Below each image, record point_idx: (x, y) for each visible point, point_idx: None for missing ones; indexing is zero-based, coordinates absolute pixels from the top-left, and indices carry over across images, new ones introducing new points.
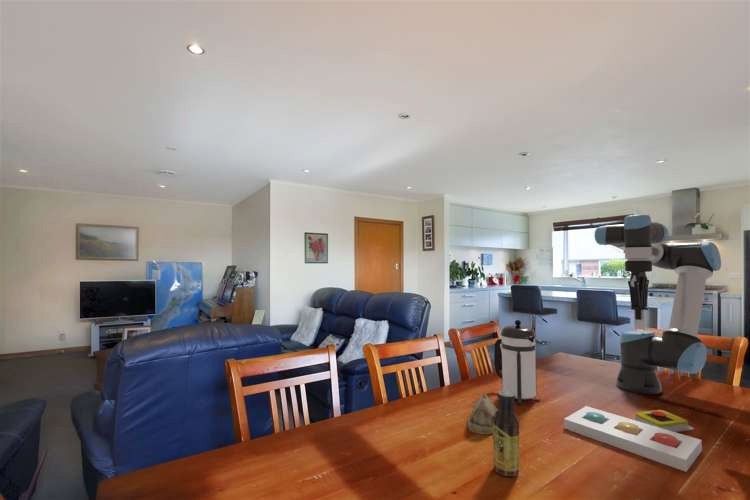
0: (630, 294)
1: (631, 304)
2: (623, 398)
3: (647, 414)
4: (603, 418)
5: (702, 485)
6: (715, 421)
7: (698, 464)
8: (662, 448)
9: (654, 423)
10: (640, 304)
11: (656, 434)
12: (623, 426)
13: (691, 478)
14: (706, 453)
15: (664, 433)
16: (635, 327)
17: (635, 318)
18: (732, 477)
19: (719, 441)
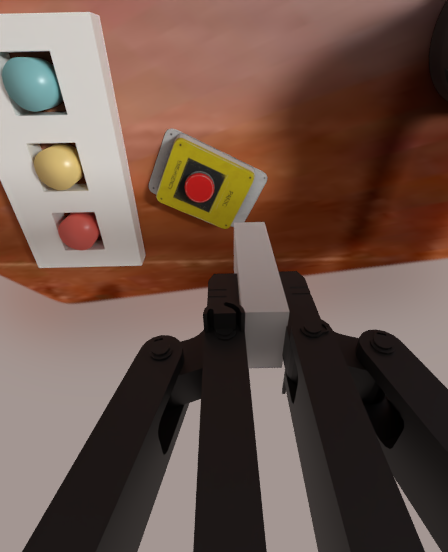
0: (26, 548)
1: (126, 375)
2: (341, 38)
3: (193, 163)
4: (33, 111)
5: (32, 277)
6: (314, 242)
7: None
8: (40, 237)
9: (158, 188)
10: (170, 427)
11: (70, 221)
12: (38, 165)
13: (36, 265)
14: None
15: (90, 229)
16: (234, 231)
17: (210, 278)
18: (95, 293)
19: (212, 263)
